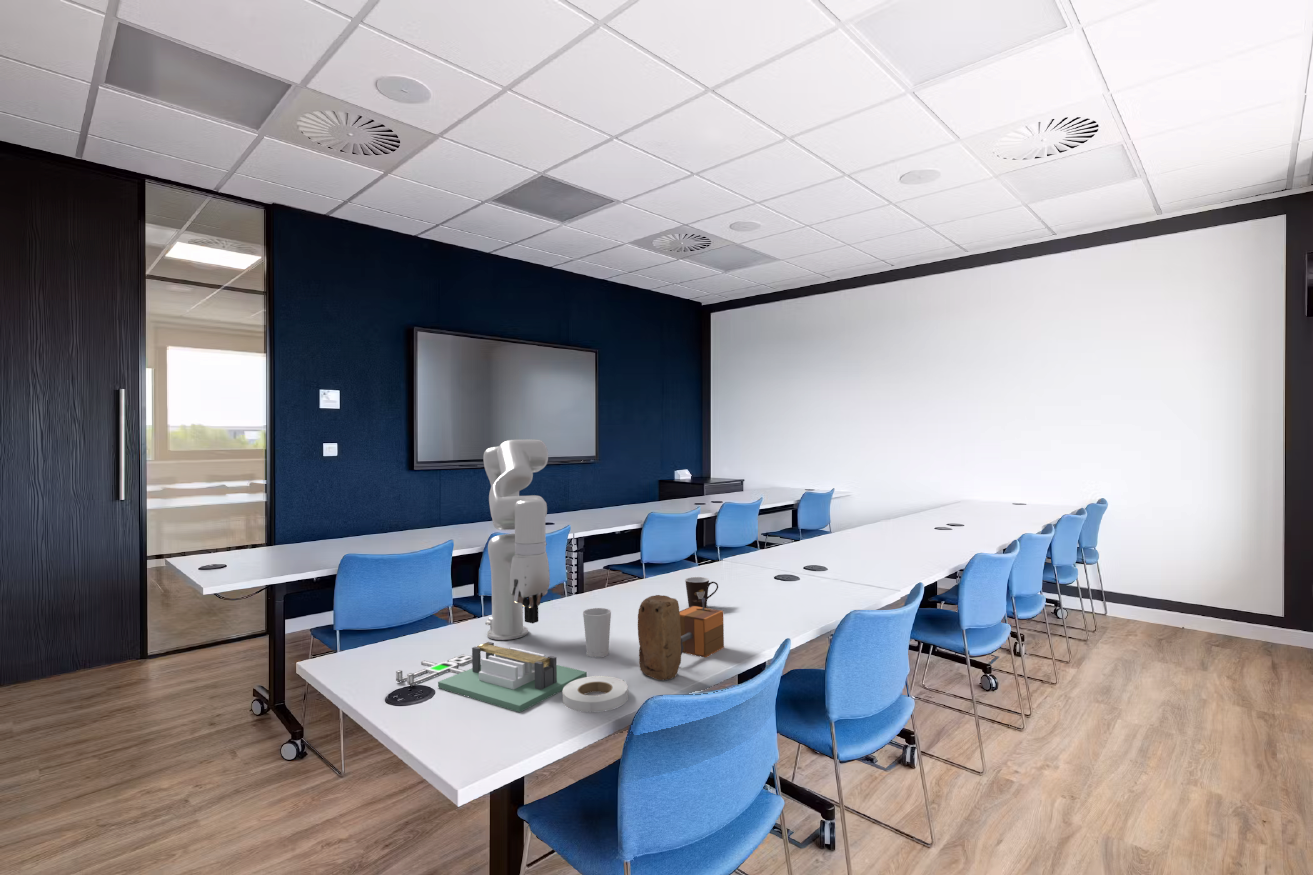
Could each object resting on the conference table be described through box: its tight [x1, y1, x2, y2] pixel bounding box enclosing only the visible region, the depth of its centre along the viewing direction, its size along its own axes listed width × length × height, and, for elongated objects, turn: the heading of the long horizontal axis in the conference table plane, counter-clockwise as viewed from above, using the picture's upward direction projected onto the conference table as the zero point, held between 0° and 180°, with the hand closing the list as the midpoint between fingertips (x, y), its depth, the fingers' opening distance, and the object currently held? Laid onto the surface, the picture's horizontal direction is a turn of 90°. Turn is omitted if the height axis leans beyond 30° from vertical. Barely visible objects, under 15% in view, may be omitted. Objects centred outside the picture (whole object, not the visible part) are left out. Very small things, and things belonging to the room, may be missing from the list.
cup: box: [582, 607, 612, 659], centre depth 182 cm, size 8×8×12 cm
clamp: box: [679, 598, 725, 658], centre depth 180 cm, size 11×20×14 cm, turn 144°
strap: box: [476, 642, 550, 667], centre depth 162 cm, size 23×3×2 cm, turn 57°
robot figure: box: [395, 653, 472, 687], centre depth 171 cm, size 16×3×22 cm
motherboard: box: [437, 641, 588, 713], centre depth 161 cm, size 28×24×8 cm
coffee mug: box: [684, 576, 719, 608], centre depth 230 cm, size 12×9×10 cm
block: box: [637, 594, 682, 681], centre depth 165 cm, size 11×8×20 cm
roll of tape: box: [562, 675, 629, 713], centre depth 151 cm, size 16×15×3 cm
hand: (531, 621), depth 160 cm, fingers closed
